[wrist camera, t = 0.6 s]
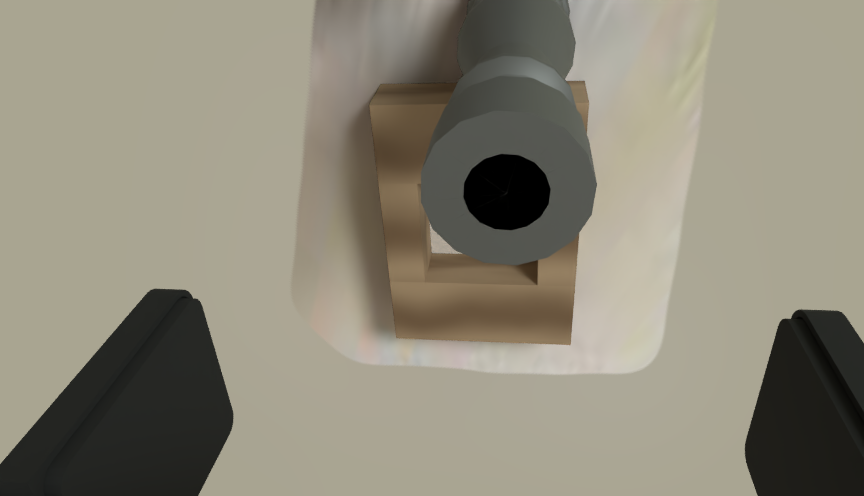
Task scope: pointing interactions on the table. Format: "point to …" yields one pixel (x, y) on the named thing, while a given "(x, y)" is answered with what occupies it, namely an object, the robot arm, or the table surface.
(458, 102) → the candle holder
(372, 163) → the table surface
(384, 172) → the holder board
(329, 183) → the table surface
